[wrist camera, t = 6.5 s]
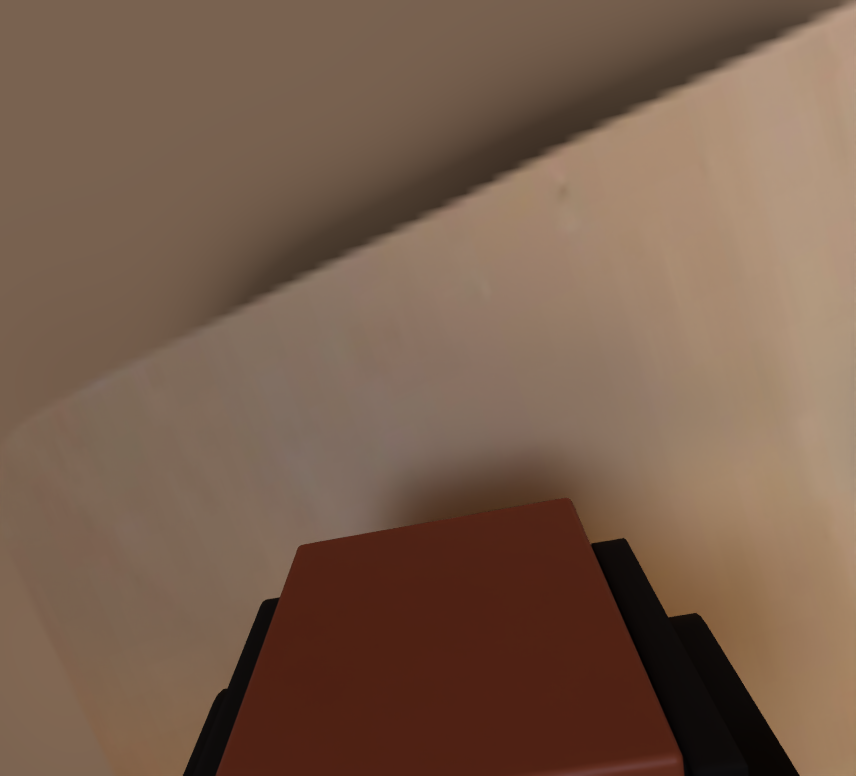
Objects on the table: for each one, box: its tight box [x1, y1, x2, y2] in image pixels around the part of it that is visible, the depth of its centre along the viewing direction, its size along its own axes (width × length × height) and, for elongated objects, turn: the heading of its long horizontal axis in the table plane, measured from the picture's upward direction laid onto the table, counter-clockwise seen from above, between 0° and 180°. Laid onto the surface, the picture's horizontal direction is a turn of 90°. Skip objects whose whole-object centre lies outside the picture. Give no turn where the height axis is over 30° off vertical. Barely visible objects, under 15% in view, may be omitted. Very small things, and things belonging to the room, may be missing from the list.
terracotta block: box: [216, 498, 684, 776], centre depth 8 cm, size 4×4×4 cm
